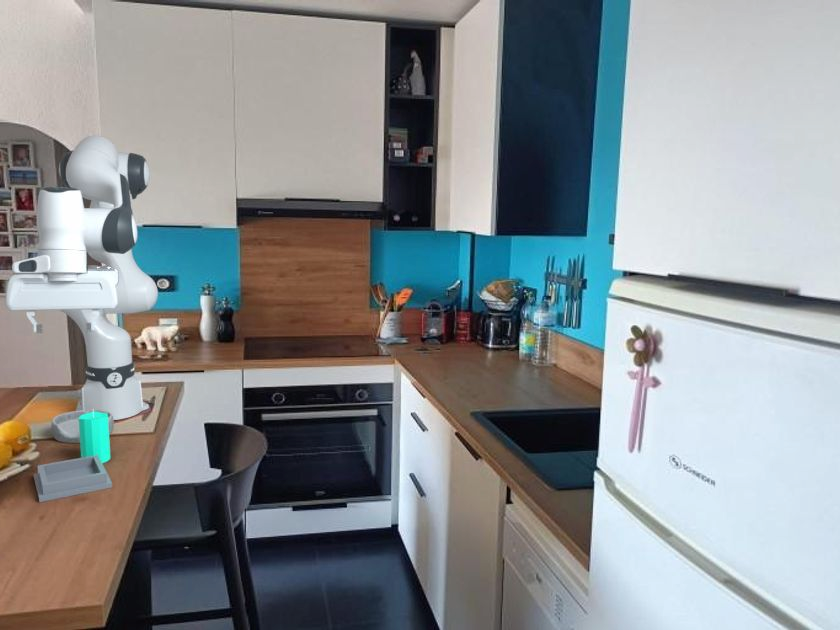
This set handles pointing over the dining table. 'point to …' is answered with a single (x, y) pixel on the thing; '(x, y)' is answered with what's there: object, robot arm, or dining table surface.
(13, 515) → the dining table surface
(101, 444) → the candle
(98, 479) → the holder
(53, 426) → the dish
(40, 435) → the dining table surface
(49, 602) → the dining table surface
